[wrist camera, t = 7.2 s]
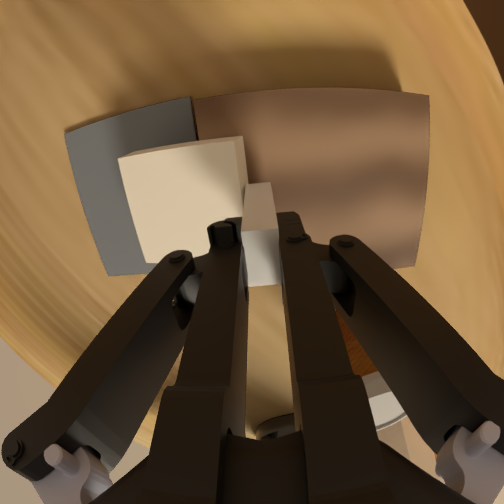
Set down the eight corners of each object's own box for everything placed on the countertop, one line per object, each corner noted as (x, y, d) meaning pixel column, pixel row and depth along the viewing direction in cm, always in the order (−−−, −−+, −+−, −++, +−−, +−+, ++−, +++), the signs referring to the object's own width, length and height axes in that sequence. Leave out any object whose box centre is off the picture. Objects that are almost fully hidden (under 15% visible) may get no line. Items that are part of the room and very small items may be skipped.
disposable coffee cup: (394, 331, 31) (427, 410, 20) (325, 360, 33) (341, 444, 23) (378, 277, 27) (426, 369, 16) (295, 314, 29) (309, 415, 19)
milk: (382, 436, 50) (400, 528, 28) (351, 433, 47) (368, 540, 25) (423, 411, 45) (451, 509, 22) (396, 406, 42) (425, 523, 19)
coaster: (256, 250, 20) (250, 266, 18) (158, 249, 22) (146, 262, 20) (242, 135, 16) (234, 140, 14) (134, 151, 18) (117, 158, 16)
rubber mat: (220, 265, 26) (219, 267, 26) (109, 274, 27) (108, 276, 27) (190, 96, 19) (189, 96, 18) (66, 133, 19) (64, 134, 19)
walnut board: (396, 243, 25) (414, 266, 21) (230, 259, 26) (226, 286, 22) (403, 93, 18) (429, 95, 14) (204, 100, 19) (193, 100, 15)
